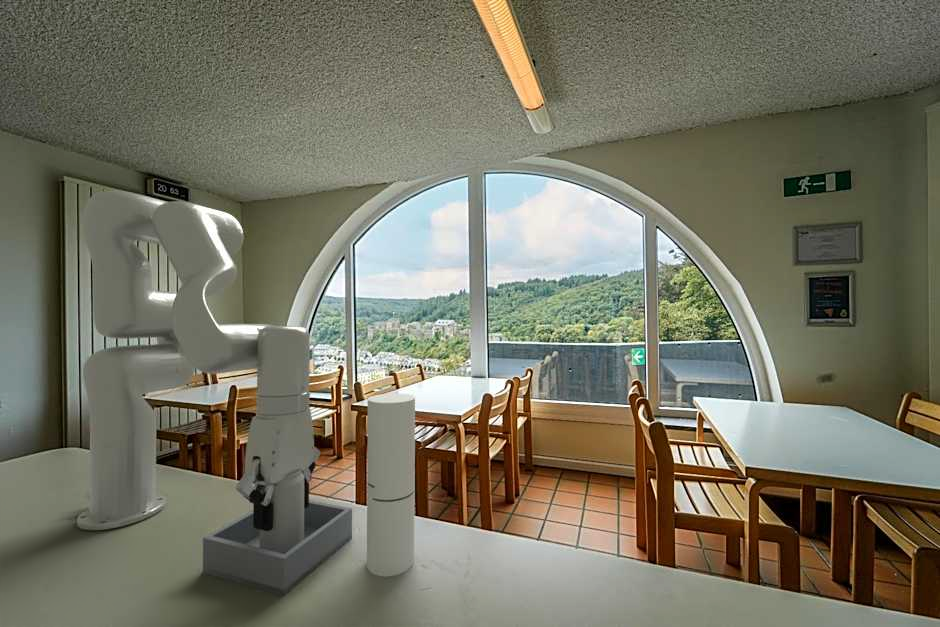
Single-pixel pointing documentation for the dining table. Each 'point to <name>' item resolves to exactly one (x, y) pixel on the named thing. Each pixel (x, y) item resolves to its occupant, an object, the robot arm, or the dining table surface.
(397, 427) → the cylindrical container
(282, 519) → the beverage can
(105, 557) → the dining table surface
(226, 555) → the box
